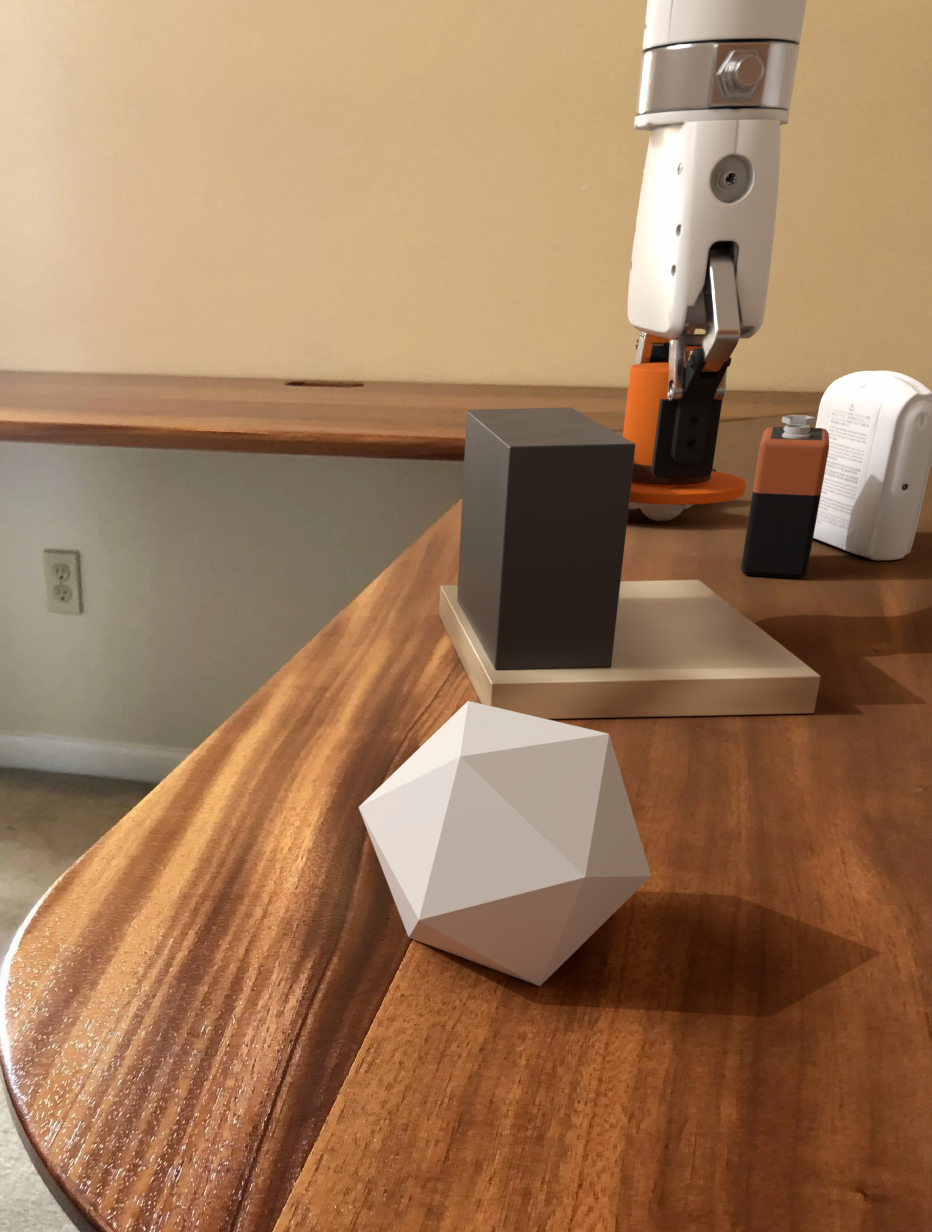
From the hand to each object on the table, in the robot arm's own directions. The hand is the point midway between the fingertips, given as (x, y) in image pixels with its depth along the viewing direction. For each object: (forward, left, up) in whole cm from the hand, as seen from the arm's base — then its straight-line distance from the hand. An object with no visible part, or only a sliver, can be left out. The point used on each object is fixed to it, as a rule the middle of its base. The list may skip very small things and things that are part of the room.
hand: (665, 463), depth 74 cm
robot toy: (-10, -37, -10) cm, 40 cm away
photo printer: (-22, -22, -10) cm, 33 cm away
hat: (0, 0, -1) cm, 1 cm away
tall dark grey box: (+8, +5, -8) cm, 13 cm away
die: (+15, +38, -10) cm, 42 cm away
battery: (-14, -16, -10) cm, 24 cm away
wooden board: (+4, +5, -10) cm, 12 cm away
